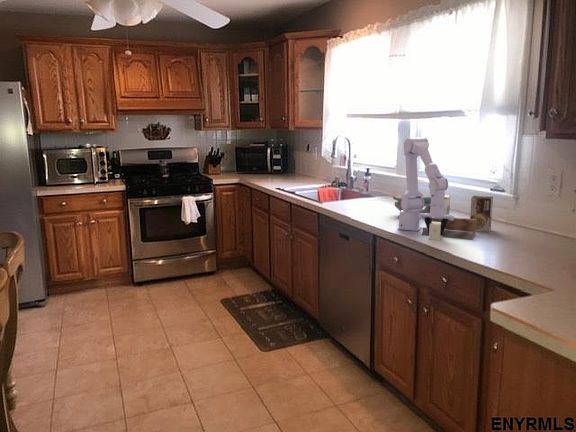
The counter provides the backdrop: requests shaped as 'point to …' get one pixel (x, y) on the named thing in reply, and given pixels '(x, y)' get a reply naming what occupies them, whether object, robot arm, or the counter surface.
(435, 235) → the cream box
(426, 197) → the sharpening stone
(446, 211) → the syrup box
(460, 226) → the cleat board
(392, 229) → the counter surface
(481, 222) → the coffee box
